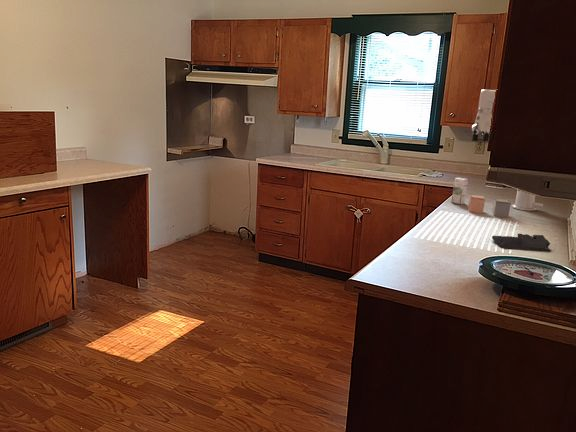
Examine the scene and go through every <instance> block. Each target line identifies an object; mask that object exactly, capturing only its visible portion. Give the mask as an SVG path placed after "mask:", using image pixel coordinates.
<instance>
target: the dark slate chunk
mask: <svg viewBox="0 0 576 432" xmlns="http://www.w3.org/2000/svg"><path fill="white" fill-rule="evenodd" d="M491 239H492V240H493V241H494V243H496V245H498V247H499V248H501V249H504V250H515V251H524V252H525V251H526V252H527V251H528V252H543V253H550V252H552V250H551V249H549V246H550V245H551V242H550V241H549V240H548V239H547V238H545V236H544V235H543V234H532V235H530V234H529V233H525V234H522V233H517V236H509V235H507V236H506V235H503V236H502V235H492V236H491Z"/></svg>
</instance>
